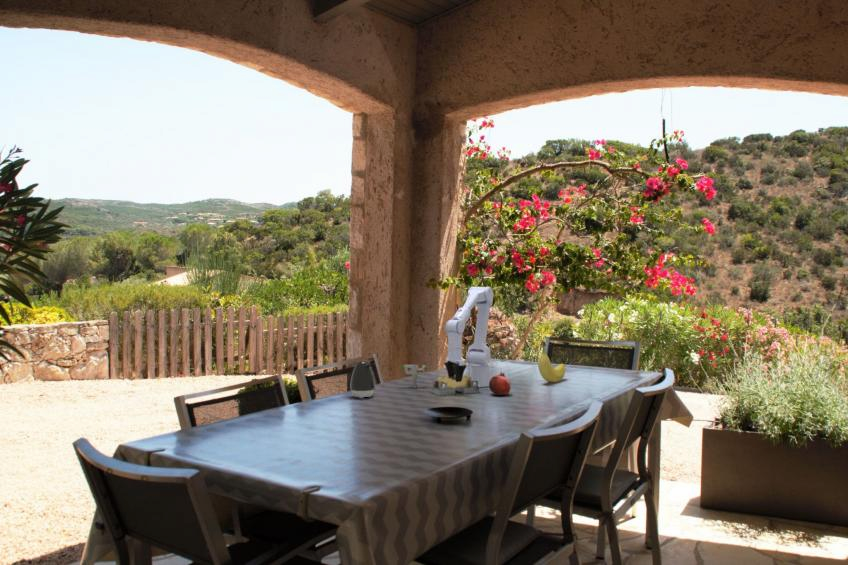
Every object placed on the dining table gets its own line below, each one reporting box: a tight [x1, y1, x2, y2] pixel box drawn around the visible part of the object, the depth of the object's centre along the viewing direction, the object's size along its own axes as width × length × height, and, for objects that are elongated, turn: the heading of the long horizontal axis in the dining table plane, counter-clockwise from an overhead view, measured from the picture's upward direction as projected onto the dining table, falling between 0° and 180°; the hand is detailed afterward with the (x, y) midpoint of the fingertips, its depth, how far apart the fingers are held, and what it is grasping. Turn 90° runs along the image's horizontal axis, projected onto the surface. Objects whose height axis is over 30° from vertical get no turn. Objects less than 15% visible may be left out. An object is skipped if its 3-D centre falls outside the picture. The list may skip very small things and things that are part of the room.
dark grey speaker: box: [349, 359, 376, 399], centre depth 292 cm, size 10×10×15 cm
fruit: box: [488, 371, 511, 396], centre depth 296 cm, size 9×10×10 cm
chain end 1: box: [431, 379, 456, 397], centre depth 300 cm, size 7×10×5 cm
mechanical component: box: [402, 364, 427, 389], centre depth 313 cm, size 3×10×10 cm, turn 89°
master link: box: [437, 374, 471, 388], centre depth 301 cm, size 14×3×4 cm, turn 111°
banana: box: [537, 340, 567, 383], centre depth 325 cm, size 23×6×20 cm, turn 143°
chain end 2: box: [454, 380, 480, 395], centre depth 303 cm, size 7×10×5 cm
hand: (455, 380), depth 301 cm, fingers open, 7 cm apart
